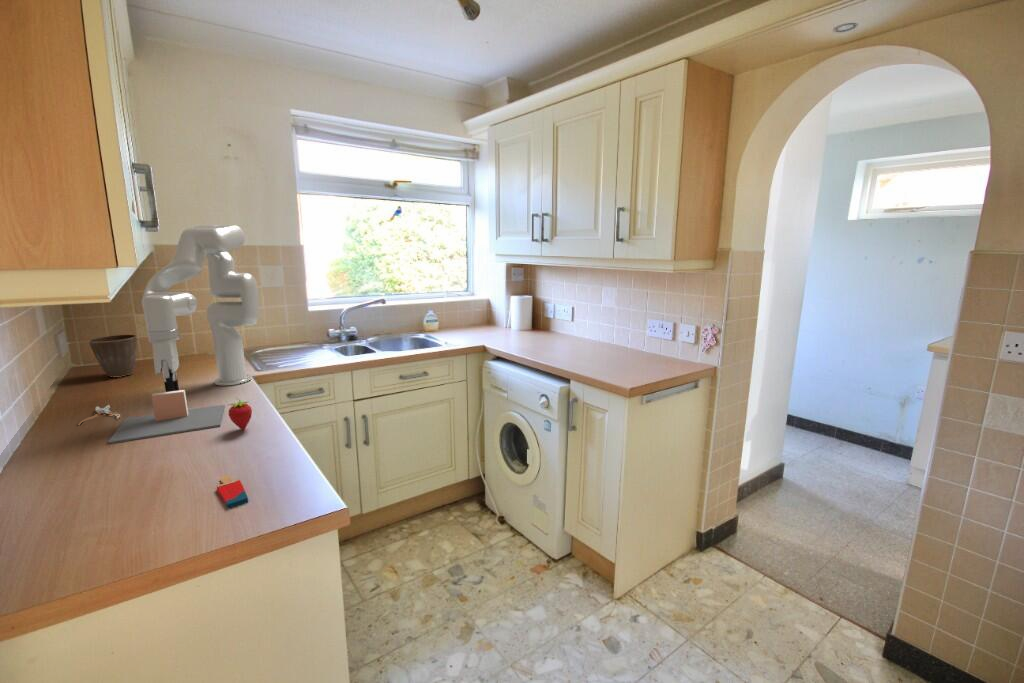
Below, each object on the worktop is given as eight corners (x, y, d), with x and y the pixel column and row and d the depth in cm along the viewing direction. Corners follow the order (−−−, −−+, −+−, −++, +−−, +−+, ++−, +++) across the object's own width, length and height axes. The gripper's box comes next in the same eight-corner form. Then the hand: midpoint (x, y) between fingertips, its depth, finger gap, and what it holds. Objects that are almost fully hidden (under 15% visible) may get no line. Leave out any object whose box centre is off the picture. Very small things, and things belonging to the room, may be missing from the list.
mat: (126, 419, 143) (126, 418, 143) (224, 406, 155) (224, 404, 155) (108, 444, 126) (107, 442, 126) (220, 426, 138) (219, 424, 137)
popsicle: (235, 471, 108) (249, 497, 97) (236, 476, 109) (250, 503, 97) (212, 477, 105) (225, 505, 94) (213, 483, 106) (225, 511, 95)
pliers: (76, 422, 138) (82, 408, 150) (77, 427, 138) (83, 413, 150) (119, 415, 144) (122, 402, 155) (120, 420, 144) (123, 407, 156)
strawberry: (231, 436, 130) (226, 402, 128) (230, 427, 137) (226, 395, 135) (254, 431, 133) (250, 398, 131) (253, 423, 140) (249, 391, 138)
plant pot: (95, 383, 181) (87, 343, 178) (97, 375, 193) (89, 337, 189) (143, 376, 191) (136, 338, 187) (142, 369, 202) (136, 333, 199)
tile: (157, 418, 143) (153, 393, 141) (188, 413, 146) (184, 389, 145) (155, 420, 141) (151, 395, 139) (187, 416, 144) (183, 391, 143)
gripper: (153, 332, 146) (162, 388, 150) (142, 341, 133) (153, 401, 137) (182, 330, 150) (190, 385, 154) (174, 338, 137) (183, 397, 141)
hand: (172, 392), depth 145 cm, fingers closed
